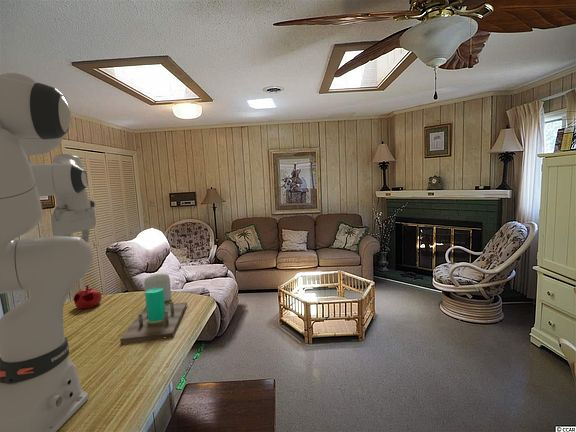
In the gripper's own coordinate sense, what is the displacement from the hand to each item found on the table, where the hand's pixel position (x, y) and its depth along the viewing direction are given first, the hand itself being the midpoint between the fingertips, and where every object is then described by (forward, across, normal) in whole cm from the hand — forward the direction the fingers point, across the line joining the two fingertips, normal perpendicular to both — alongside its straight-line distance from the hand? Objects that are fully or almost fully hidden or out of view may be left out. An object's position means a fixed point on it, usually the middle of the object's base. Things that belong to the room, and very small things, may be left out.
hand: (78, 244), depth 102 cm
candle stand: (+31, +1, -23) cm, 39 cm away
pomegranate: (+31, +26, +12) cm, 42 cm away
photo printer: (+31, +22, -18) cm, 42 cm away
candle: (+30, +1, -23) cm, 37 cm away
